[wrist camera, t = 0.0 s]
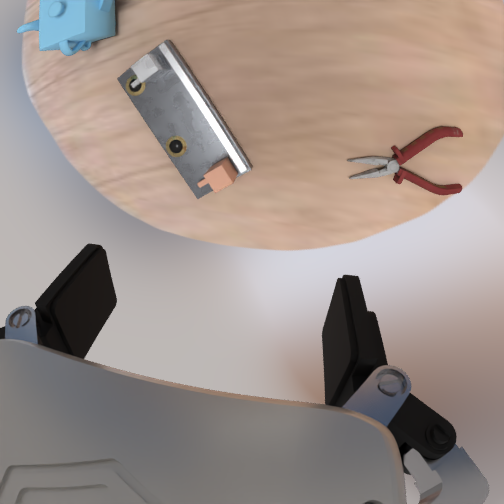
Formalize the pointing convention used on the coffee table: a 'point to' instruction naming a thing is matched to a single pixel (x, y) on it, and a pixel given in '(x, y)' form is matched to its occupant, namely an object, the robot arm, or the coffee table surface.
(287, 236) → the coffee table surface
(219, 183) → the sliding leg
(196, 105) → the plate
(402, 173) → the pliers
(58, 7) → the teapot
